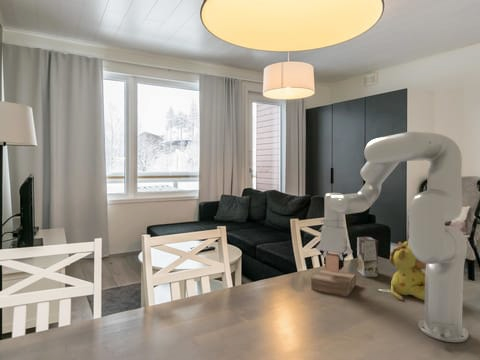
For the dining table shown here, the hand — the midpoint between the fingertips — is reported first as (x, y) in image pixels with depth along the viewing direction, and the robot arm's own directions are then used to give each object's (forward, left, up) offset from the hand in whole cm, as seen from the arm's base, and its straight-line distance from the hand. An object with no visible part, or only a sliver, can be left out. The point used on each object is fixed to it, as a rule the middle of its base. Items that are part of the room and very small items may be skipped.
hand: (333, 267), depth 132 cm
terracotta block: (0, 0, -1) cm, 1 cm away
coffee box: (+24, -8, -8) cm, 27 cm away
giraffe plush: (+10, -28, -9) cm, 31 cm away
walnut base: (0, 0, -8) cm, 8 cm away
